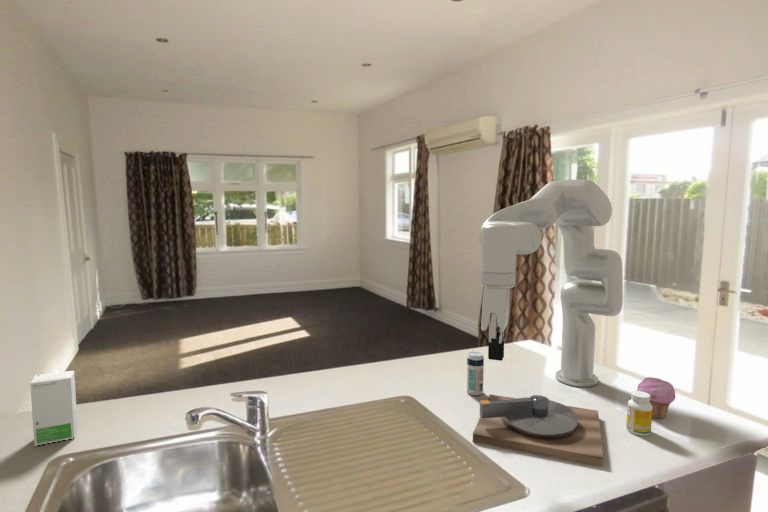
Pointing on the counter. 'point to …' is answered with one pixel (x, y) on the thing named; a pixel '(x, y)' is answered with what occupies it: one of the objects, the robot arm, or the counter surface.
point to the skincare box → (53, 407)
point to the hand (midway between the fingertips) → (496, 358)
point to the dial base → (574, 447)
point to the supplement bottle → (639, 414)
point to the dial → (533, 416)
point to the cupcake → (658, 395)
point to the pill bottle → (475, 373)
